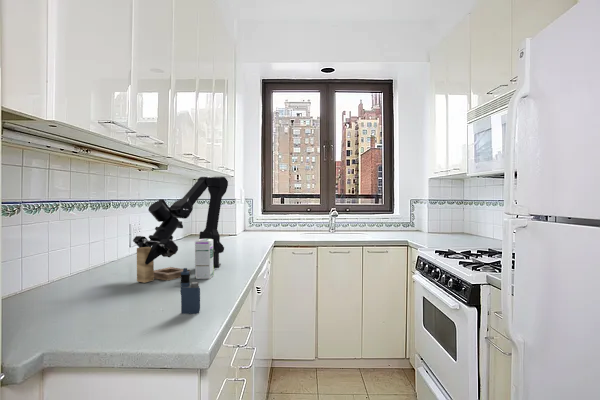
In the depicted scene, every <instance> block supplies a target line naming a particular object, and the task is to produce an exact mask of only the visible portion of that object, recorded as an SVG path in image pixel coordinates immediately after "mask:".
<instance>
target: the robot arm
mask: <svg viewBox="0 0 600 400" xmlns="http://www.w3.org/2000/svg"><path fill="white" fill-rule="evenodd" d="M228 186H229V181H228V179H227V178H226V177H225V176H212V177H211V176H200V177H198V178H197V181H196V182H195V183H194V185H193V186H192V187H191V188H190V189H189V190H188V192H186V193H185V195H184V196H183V197H182V198H180V199H178V200H176V201H175V202H174V203H172V204H171V205H170V206H169V205H168V203H167V202H166V201H165V199H163V198H160V199H158V201H157V200H156V201H154V202H153V203H152V204H150V205H149V207H148V212H149V213H150V214H151V215H152V217H153V218H155V220H156V221H157V222H159V223H160V222H161V223H160V224H159V226H155V228H154V230H155V232H153V234H151V235H150V234H149V235H148V237H146V236H143V235H136V236H135V237H134V238H133V239H132V242H133V243H134V244H135V245H137V248H141V247H152V248H151V250H150V252H149V254H148V256H147V259H146V261H145V264H147V265H148V264H149V263H150V262H152V261H153V260H156V259H157V258H159V256H161V257H164V258H171V257H173V256H174V255H176V254H177V252H178V251H179V246H178V245H177V244H176V243H175V242H174V239H173V238H174V236H173V235H174V233H175V232H176V230H177V229H184V224H183V221H180V220H179V219H188V218H189V217H190V216H191V214H192V212H193V211H194V210H193V209H194V205H195V203H196V202H197V201H198V200H199V198H200V197H201V196H202V195H203V193H204V192H205V191H206V190H208V193H209V196H210V197H209V204H208V210H207V215H206V216H207V217H206V223H205V228H204V229H203V231H200V232H199V237H198V240H199V239H213V256H214V268H220V266H221V265H222V263H220V254H222V253H224V250H225V246H224V244H222V242H221V240H220V239H221V237H220V233H219V231H218V226H219V219H220V213H221V206H222V205H221V204H222V198H223V196H224V195H225V194H226V193H227V190H228Z"/></svg>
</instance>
